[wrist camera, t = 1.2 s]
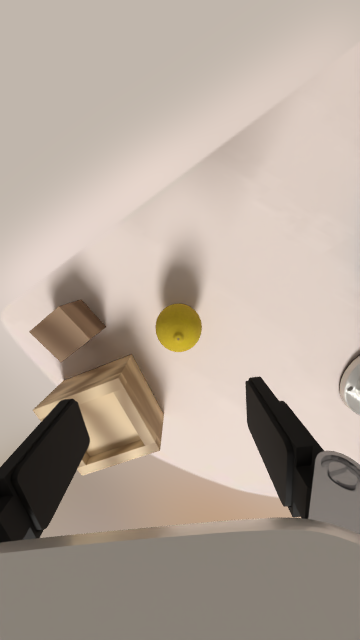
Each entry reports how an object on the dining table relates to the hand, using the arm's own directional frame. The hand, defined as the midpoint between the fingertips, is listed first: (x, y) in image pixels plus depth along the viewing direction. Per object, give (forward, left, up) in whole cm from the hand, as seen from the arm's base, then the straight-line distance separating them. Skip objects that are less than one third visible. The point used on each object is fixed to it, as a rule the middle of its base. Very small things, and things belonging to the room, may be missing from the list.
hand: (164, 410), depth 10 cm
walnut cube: (+13, -2, -17) cm, 22 cm away
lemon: (-1, -1, -17) cm, 17 cm away
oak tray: (+11, +11, -17) cm, 23 cm away
